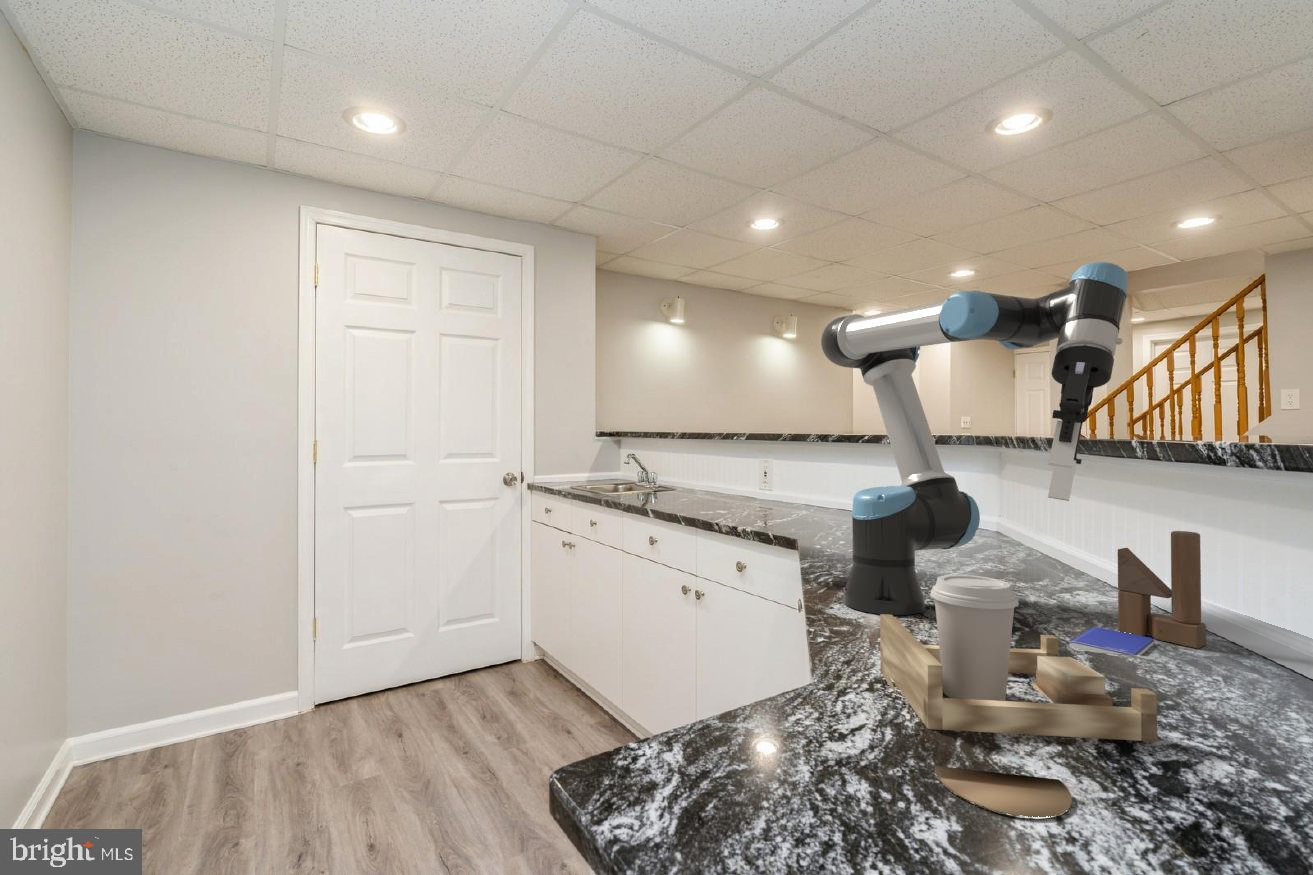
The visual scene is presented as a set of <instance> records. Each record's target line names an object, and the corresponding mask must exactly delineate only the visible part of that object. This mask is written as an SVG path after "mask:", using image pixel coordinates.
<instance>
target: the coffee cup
mask: <svg viewBox="0 0 1313 875" xmlns="http://www.w3.org/2000/svg"><path fill="white" fill-rule="evenodd" d="M930 597H931V598H933V599H934V605H935V606H934V608H935V614H936V615H935V616H936V618H935V619H936V625H937V636H938V645H939V649H940V660H941V665H942V684H943V693H944V694H945V696H947V698H953V699H974V700H994V701H1007V699H1006V698H1007V690H1008V689H1007V687H1008V678H1009V677H1008V676H1009V672H1008V667H1009V656H1010V648H1011V646H1012V645H1011V643H1012V634H1013V633H1012V632H1013V623H1014V622H1013V621H1014V614H1015V608H1016V607H1019V605H1020V602H1019V599H1018V597H1017V595H1016V593H1015V592H1013V588H1012V586H1011V584H1010V583H1009V582H1007V581H1004V580H1001V579H997V578H994V577H993V578H992V577H986V576H982V575H981V576H979V575H970V574H969V575H968V574H946V575H941V576H938V577H937V579H936V583H935V584H934V585H933V586H932V588H931V590H930Z"/></svg>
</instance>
